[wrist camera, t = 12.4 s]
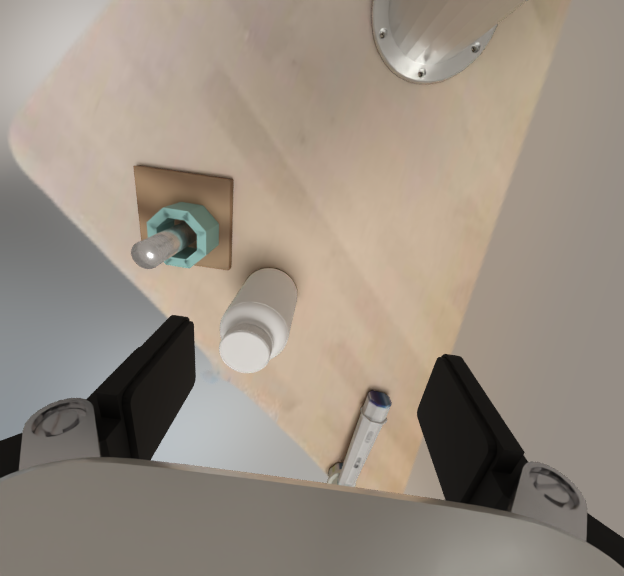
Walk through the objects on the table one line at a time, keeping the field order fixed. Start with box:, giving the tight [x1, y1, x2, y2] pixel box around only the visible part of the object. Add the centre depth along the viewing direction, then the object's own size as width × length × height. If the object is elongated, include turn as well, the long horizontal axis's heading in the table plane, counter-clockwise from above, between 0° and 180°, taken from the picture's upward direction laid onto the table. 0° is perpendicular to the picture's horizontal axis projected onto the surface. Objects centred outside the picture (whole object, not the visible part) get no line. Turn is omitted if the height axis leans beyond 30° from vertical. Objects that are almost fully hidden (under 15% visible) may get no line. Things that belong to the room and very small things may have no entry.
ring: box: [147, 202, 219, 268], centre depth 37 cm, size 7×7×4 cm
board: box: [134, 166, 233, 270], centre depth 39 cm, size 12×12×1 cm
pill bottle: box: [219, 268, 297, 373], centre depth 37 cm, size 8×8×15 cm
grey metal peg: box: [131, 221, 197, 269], centre depth 34 cm, size 3×3×11 cm
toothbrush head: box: [327, 390, 392, 487], centre depth 54 cm, size 5×7×25 cm
